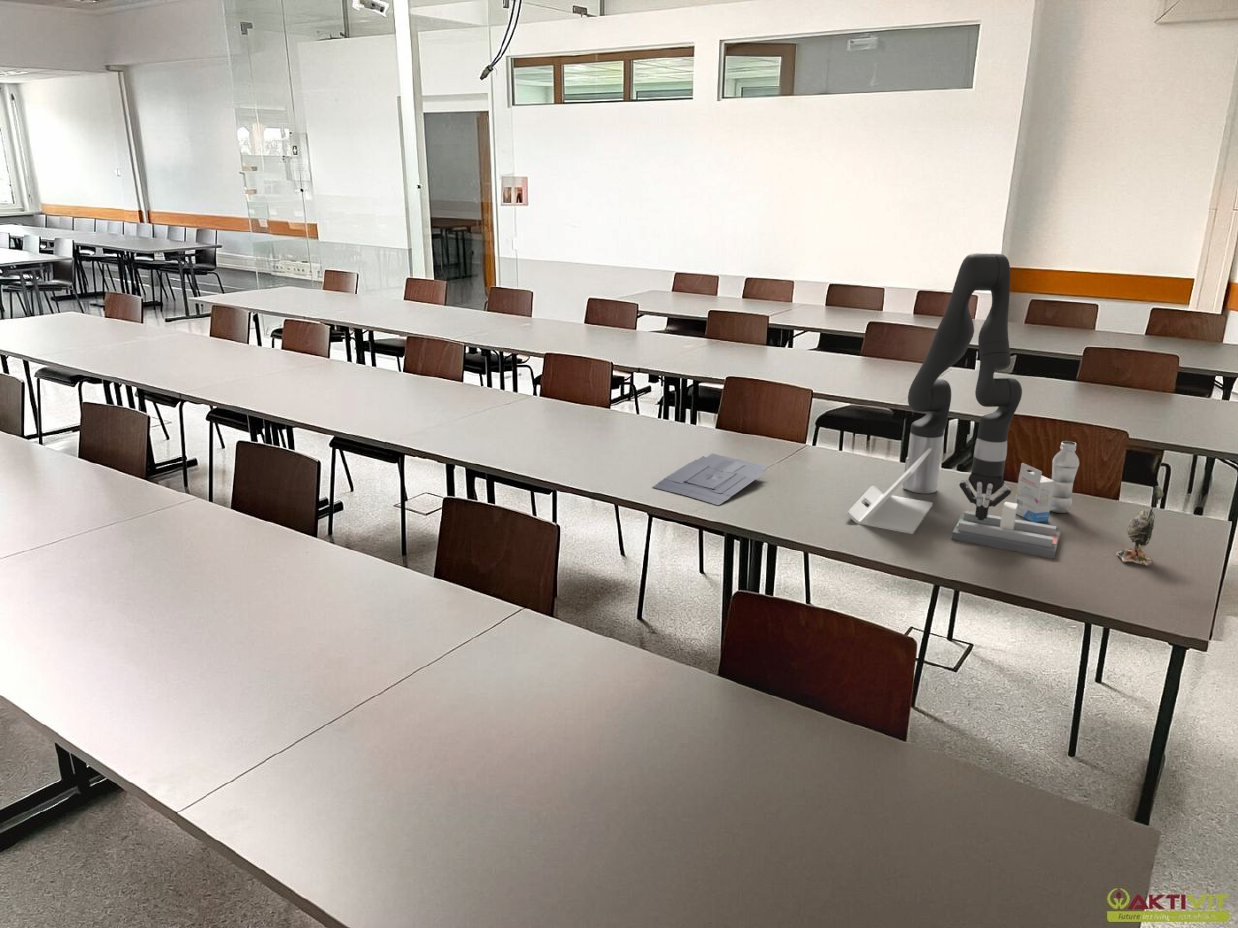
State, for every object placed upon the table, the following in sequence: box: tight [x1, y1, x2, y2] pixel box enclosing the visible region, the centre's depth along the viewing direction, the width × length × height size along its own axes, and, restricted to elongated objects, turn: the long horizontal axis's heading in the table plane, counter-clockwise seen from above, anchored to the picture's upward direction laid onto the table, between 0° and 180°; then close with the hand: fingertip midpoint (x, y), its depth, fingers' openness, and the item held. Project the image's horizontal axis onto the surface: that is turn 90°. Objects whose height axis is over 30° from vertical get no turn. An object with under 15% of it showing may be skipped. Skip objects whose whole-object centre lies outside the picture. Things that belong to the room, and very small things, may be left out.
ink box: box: [1014, 462, 1055, 523], centre depth 237 cm, size 8×5×15 cm, turn 14°
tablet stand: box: [845, 448, 934, 535], centre depth 239 cm, size 18×25×17 cm
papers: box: [652, 453, 769, 506], centre depth 264 cm, size 24×30×4 cm
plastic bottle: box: [1050, 440, 1080, 514], centre depth 240 cm, size 6×7×20 cm
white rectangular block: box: [1000, 501, 1018, 530], centre depth 223 cm, size 3×4×7 cm
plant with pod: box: [1116, 485, 1164, 567], centre depth 210 cm, size 8×11×20 cm
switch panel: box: [951, 510, 1061, 559], centre depth 224 cm, size 24×14×4 cm, turn 60°
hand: (980, 519), depth 226 cm, fingers closed
